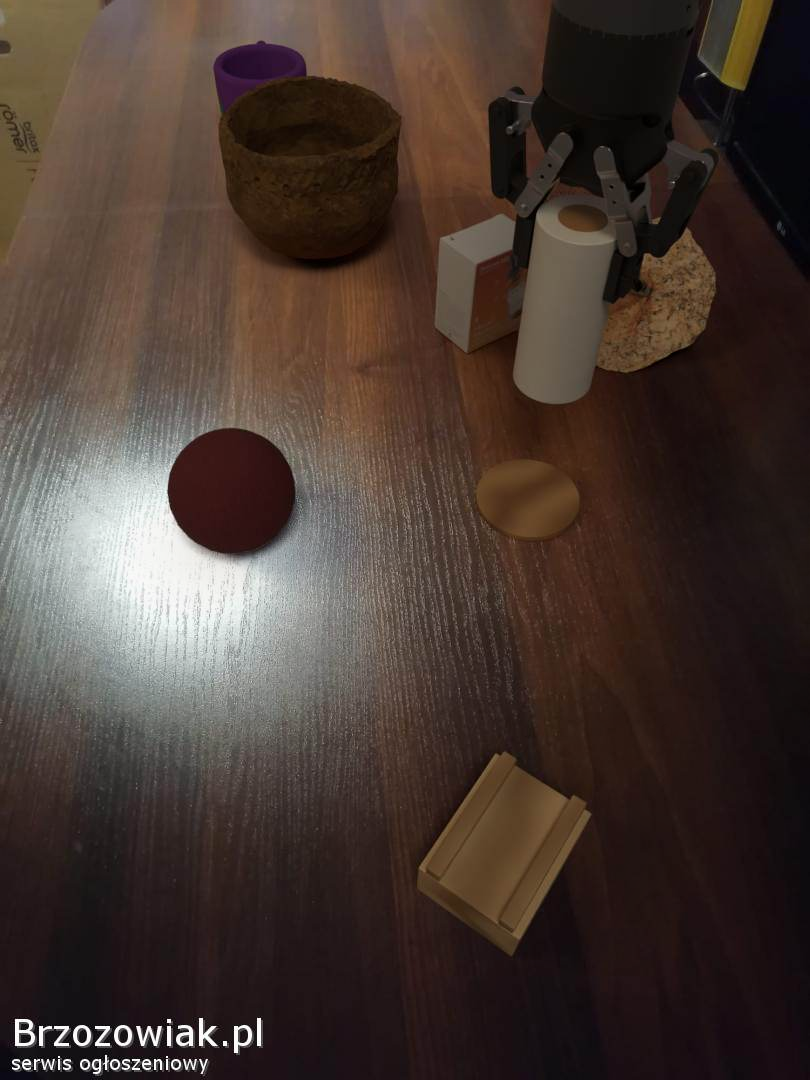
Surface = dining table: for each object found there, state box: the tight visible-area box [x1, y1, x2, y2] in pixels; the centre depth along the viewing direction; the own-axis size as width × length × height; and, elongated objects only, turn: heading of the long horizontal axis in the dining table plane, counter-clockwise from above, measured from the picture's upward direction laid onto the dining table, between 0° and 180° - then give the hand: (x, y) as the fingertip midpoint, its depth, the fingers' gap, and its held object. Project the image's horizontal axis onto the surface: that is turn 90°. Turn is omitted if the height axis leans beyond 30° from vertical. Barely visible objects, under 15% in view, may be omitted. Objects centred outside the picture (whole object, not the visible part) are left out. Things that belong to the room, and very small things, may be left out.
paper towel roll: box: [512, 193, 618, 405], centre depth 59 cm, size 6×13×6 cm
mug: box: [212, 40, 308, 116], centre depth 111 cm, size 17×11×10 cm, turn 5°
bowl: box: [217, 75, 403, 260], centre depth 93 cm, size 19×19×15 cm
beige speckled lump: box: [595, 216, 717, 374], centre depth 89 cm, size 18×14×8 cm
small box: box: [434, 213, 528, 354], centre depth 86 cm, size 8×6×10 cm
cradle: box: [416, 750, 592, 957], centre depth 54 cm, size 7×9×5 cm
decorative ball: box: [166, 427, 296, 555], centre depth 68 cm, size 10×10×10 cm
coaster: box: [475, 458, 581, 542], centre depth 75 cm, size 9×9×1 cm
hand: (571, 278), depth 57 cm, fingers closed on paper towel roll, 5 cm apart
